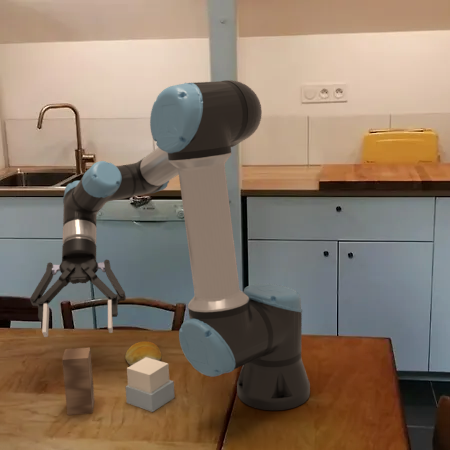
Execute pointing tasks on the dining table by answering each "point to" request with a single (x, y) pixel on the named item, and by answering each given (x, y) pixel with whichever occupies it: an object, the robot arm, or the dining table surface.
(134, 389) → the tower base
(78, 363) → the pillar
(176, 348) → the dining table surface
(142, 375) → the tower top
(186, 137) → the robot arm
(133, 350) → the bread roll
